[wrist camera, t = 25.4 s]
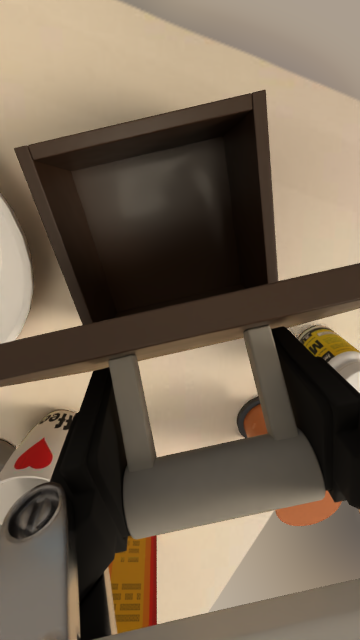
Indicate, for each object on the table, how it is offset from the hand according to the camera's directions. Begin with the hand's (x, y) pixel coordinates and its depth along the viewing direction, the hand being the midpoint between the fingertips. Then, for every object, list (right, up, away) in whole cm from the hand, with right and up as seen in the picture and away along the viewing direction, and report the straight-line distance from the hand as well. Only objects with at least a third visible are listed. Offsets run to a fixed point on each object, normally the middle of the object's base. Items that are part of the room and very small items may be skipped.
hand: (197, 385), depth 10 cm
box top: (0, +2, +4) cm, 4 cm away
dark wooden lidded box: (-2, +11, +17) cm, 20 cm away
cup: (-15, -11, +25) cm, 32 cm away
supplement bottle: (+15, 0, +23) cm, 28 cm away
